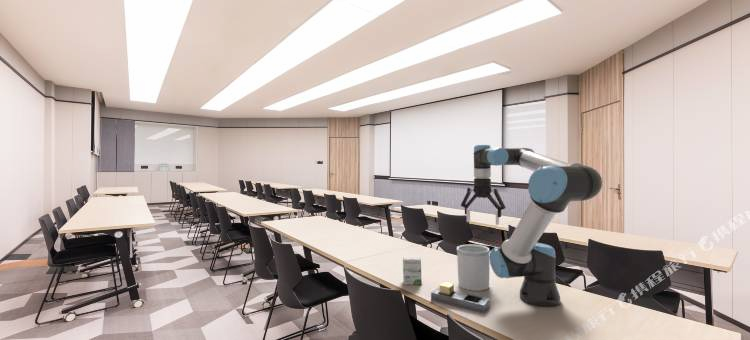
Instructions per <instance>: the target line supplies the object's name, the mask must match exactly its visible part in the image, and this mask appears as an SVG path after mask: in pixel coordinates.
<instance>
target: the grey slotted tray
mask: <svg viewBox="0 0 750 340" xmlns="http://www.w3.org/2000/svg"><path fill="white" fill-rule="evenodd" d="M430 300H431V301H434V300H435V302H438V303H442V304H447V305H449V306H450V305H451V306H453V307H457V308H463V309H466V310H471V311H474V312H478V313H482V314H484V313H485V312H487V310H488V309H489V308H490V304H491V303H490V302H491V301H490V298H488V297H483V296H477V295H474V294H470V293H469V294H468V293H465V292H461V291H456V290H454V294H453V295H452V296H451V297H450V296H446V295H442V294H440V286H438V287H437V288H435V289H434V290H432V291H431V292H430Z"/></svg>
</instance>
